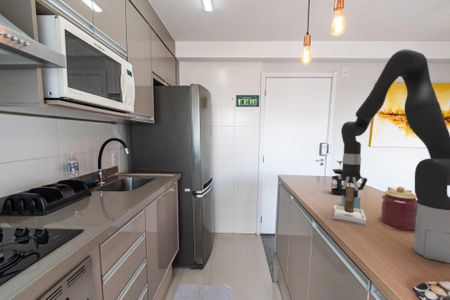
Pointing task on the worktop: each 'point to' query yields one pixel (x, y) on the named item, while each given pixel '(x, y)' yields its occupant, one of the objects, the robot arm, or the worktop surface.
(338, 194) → the french press
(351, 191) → the walnut peg
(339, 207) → the white tray
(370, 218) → the worktop surface
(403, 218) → the canister
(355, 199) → the teal pot
